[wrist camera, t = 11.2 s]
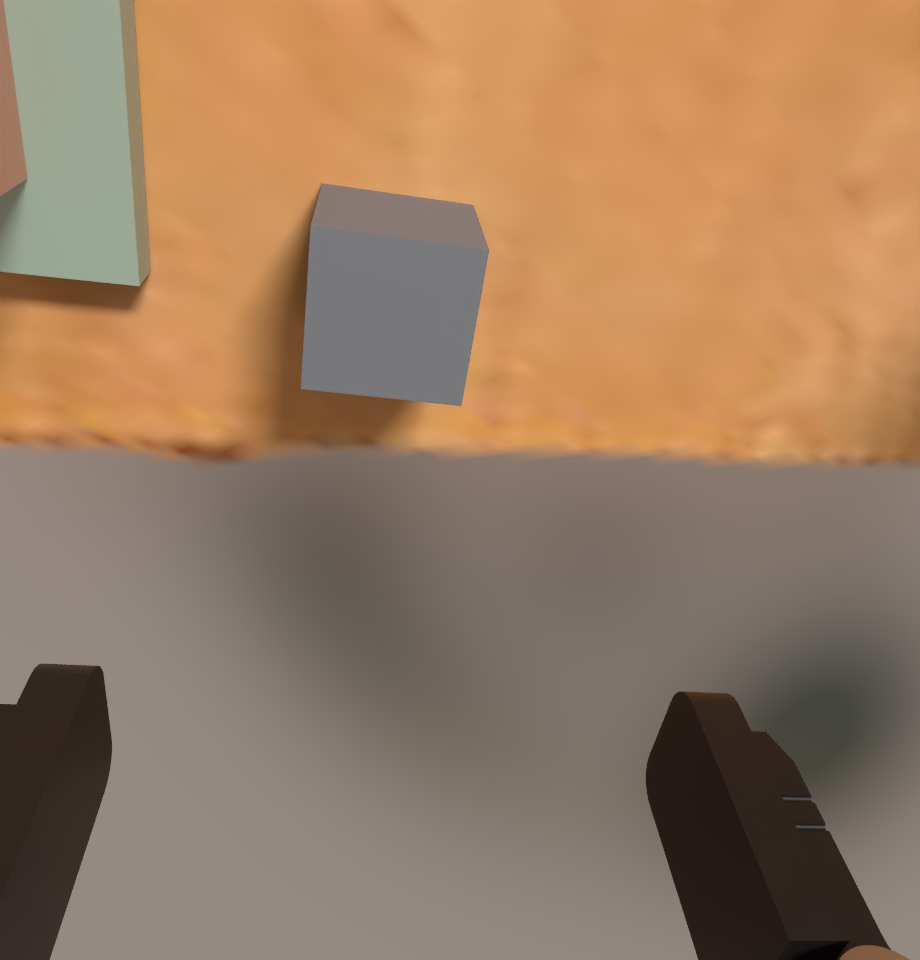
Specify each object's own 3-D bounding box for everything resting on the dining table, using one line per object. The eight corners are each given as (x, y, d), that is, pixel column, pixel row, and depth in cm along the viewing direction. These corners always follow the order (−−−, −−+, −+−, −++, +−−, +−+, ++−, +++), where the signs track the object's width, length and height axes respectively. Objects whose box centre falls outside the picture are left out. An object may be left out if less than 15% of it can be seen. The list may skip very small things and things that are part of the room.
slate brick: (472, 204, 27) (489, 250, 23) (450, 342, 30) (461, 405, 26) (322, 182, 27) (310, 225, 22) (312, 326, 29) (300, 389, 25)
